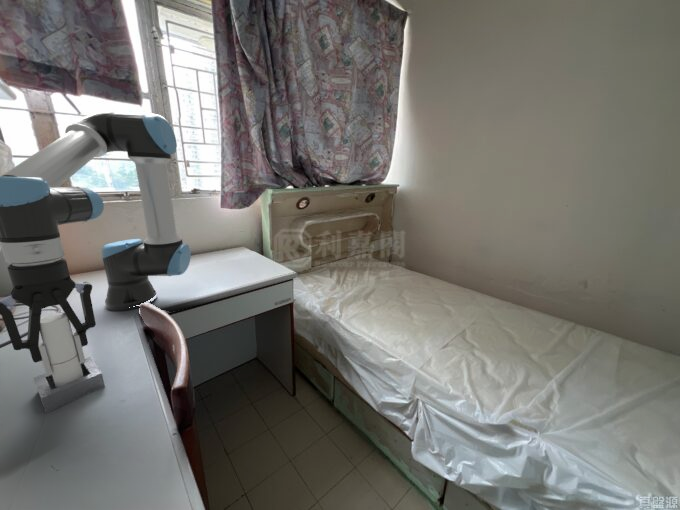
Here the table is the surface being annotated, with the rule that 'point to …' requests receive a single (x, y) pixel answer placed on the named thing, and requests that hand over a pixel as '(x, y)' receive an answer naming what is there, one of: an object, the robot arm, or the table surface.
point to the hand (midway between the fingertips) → (65, 365)
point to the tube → (60, 348)
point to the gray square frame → (69, 386)
